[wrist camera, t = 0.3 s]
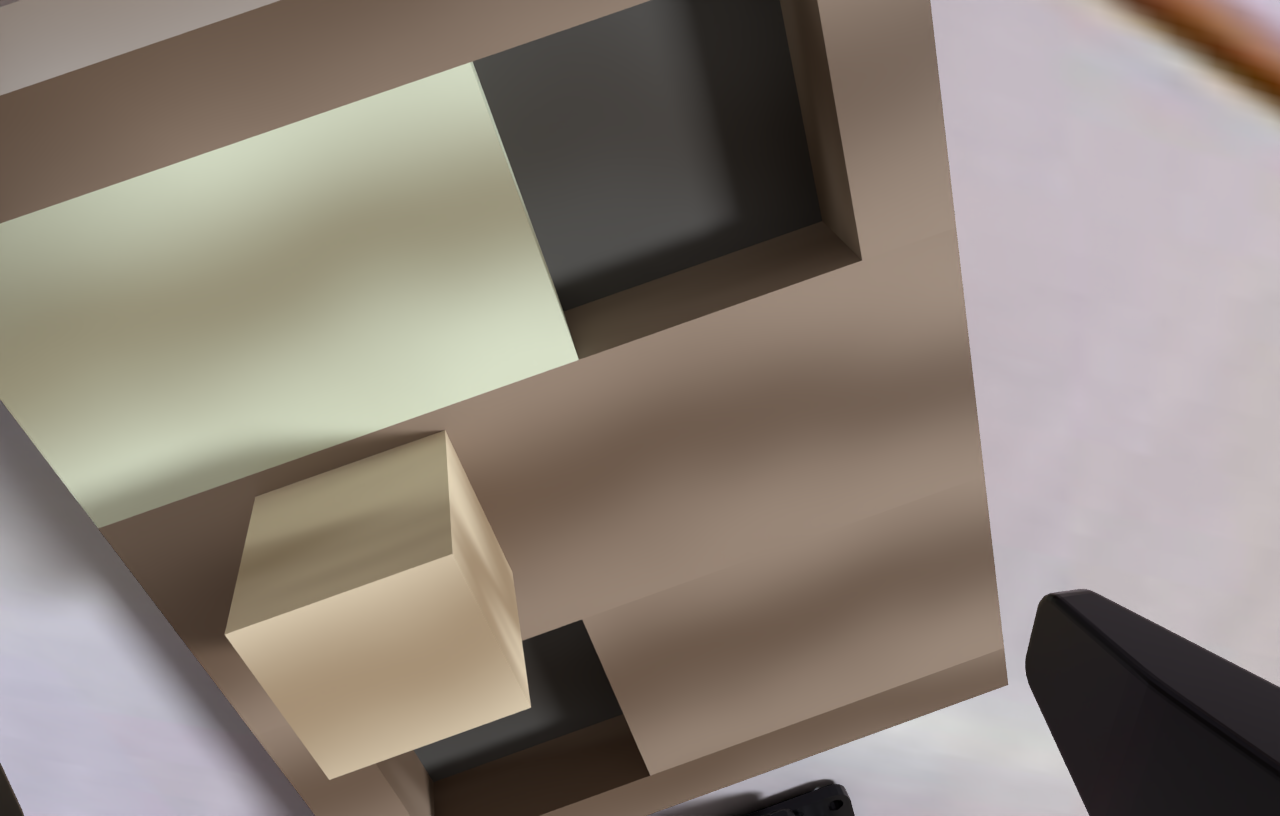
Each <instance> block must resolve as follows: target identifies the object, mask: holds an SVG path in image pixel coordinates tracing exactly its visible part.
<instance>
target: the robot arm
mask: <svg viewBox="0 0 1280 816" xmlns="http://www.w3.org/2000/svg"><path fill="white" fill-rule="evenodd" d="M1025 669H1026V676H1027V679H1028V683H1029V685H1030V688H1031V690H1032V692H1033V695H1034V697H1035V699H1036V701H1037V703H1038V705H1039V708H1040V710H1041V712H1042V714H1043V716H1044V718H1045V721H1046V723H1047V725H1048V727H1049V729H1050V731H1051V734H1052V736H1053V738H1054V740H1055V742H1056V744H1057V747H1058V749H1059V751H1060V753H1061V755H1062V757H1063V760H1064V762H1065V764H1066V766H1067V768H1068V770H1069V773H1070V775H1071V777H1072V779H1073V781H1074V783H1075V786H1076V788H1077V790H1078V792H1079V794H1080V796H1081V799H1082V801H1083V803H1084V805H1085V807H1086V809H1087V811H1088V813H1089V815H1090V816H1280V687H1278V686H1276V685H1274V684H1272V683H1270V682H1269V681H1267V680H1265V679H1263V678H1261V677H1259V676H1257V675H1255V674H1253V673H1251V672H1249V671H1247V670H1245V669H1243V668H1241V667H1239V666H1237V665H1235V664H1234V663H1232V662H1230V661H1228V660H1226V659H1224V658H1222V657H1220V656H1218V655H1216V654H1214V653H1212V652H1210V651H1208V650H1206V649H1204V648H1202V647H1200V646H1199V645H1197V644H1195V643H1193V642H1191V641H1189V640H1187V639H1185V638H1183V637H1181V636H1179V635H1177V634H1175V633H1173V632H1171V631H1169V630H1167V629H1165V628H1164V627H1162V626H1160V625H1158V624H1156V623H1154V622H1152V621H1150V620H1148V619H1146V618H1144V617H1142V616H1140V615H1138V614H1136V613H1134V612H1132V611H1130V610H1128V609H1127V608H1125V607H1123V606H1121V605H1119V604H1117V603H1115V602H1113V601H1111V600H1109V599H1107V598H1105V597H1103V596H1101V595H1099V594H1097V593H1095V592H1093V591H1091V590H1087V589H1077V590H1070V591H1063V592H1056V593H1050V594H1048V595H1045V596H1044V597H1043V598H1042V600H1041V601H1040V602H1039V605H1038V608H1037V612H1036V617H1035V621H1034V625H1033V629H1032V633H1031V638H1030V642H1029V646H1028V650H1027V654H1026V661H1025ZM0 816H24V814H23V811H22V809H21V807H20V804H19V802H18V800H17V798H16V796H15V794H14V792H13V789H12V787H11V785H10V783H9V781H8V779H7V776H6V774H5V772H4V770H3V768H2V766H1V763H0ZM746 816H855V815H854V812H853V808H852V804H851V800H850V798H849V796H848V794H847V791H846V789H845V788H844V786H842V785H840V784H833V785H828V786H826V787H823V788H820V789H817V790H815V791H812V792H809V793H806V794H804V795H801V796H798V797H795V798H793V799H790V800H787V801H784V802H782V803H779V804H776V805H773V806H771V807H768V808H765V809H762V810H760V811H757V812H754V813H751V814H749V815H746Z"/></svg>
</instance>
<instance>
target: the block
mask: <svg viewBox="0 0 1280 816" xmlns="http://www.w3.org/2000/svg"><path fill="white" fill-rule="evenodd" d="M225 636H226V637H227V639H228V640H229V641H230V643H231V644H232V646H233V647H234V648H235V650H236V651H237V653H238V654H239V655H240V657H241V658H242V660H243V661H244V662H245V664H246V665H247V666H248V668H249V669H250V671H251V672H252V673H253V675H254V676H255V678H256V679H257V680H258V682H259V683H260V684H261V686H262V687H263V689H264V690H265V691H266V693H267V694H268V696H269V697H270V698H271V700H272V701H273V703H274V704H275V705H276V707H277V708H278V709H279V711H280V712H281V714H282V715H283V716H284V718H285V719H286V721H287V722H288V723H289V725H290V726H291V727H292V729H293V730H294V732H295V733H296V734H297V736H298V737H299V739H300V740H301V741H302V743H303V744H304V746H305V747H306V748H307V750H308V751H309V752H310V754H311V755H312V757H313V758H314V759H315V761H316V762H317V764H318V765H319V766H320V768H321V769H322V771H323V772H324V773H325V775H326V776H327V777H328V779H329V780H331V779H333V778H336V777H339V776H342V775H344V774H347V773H350V772H353V771H356V770H358V769H361V768H364V767H367V766H370V765H372V764H375V763H378V762H381V761H384V760H386V759H389V758H392V757H395V756H397V755H400V754H403V753H406V752H409V751H411V750H414V749H417V748H420V747H423V746H425V745H428V744H431V743H434V742H437V741H439V740H442V739H445V738H448V737H451V736H453V735H456V734H459V733H462V732H464V731H467V730H470V729H473V728H476V727H478V726H481V725H484V724H487V723H490V722H492V721H495V720H498V719H501V718H504V717H506V716H509V715H512V714H515V713H517V712H520V711H523V710H526V709H529V708H531V703H530V696H529V689H528V681H527V674H526V667H525V660H524V652H523V645H522V638H521V631H520V623H519V616H518V609H517V602H516V594H515V587H514V580H513V573H512V570H511V568H510V566H509V564H508V562H507V560H506V558H505V556H504V553H503V551H502V549H501V547H500V545H499V543H498V541H497V539H496V537H495V534H494V532H493V530H492V528H491V526H490V524H489V522H488V520H487V518H486V515H485V513H484V511H483V509H482V507H481V505H480V503H479V501H478V499H477V496H476V494H475V492H474V490H473V488H472V486H471V484H470V482H469V480H468V477H467V475H466V473H465V471H464V469H463V467H462V465H461V463H460V460H459V458H458V456H457V454H456V452H455V450H454V448H453V446H452V444H451V441H450V439H449V437H448V435H447V433H446V431H445V430H444V431H441V432H438V433H435V434H433V435H430V436H427V437H424V438H421V439H418V440H415V441H413V442H410V443H407V444H404V445H401V446H398V447H396V448H393V449H390V450H387V451H384V452H381V453H378V454H376V455H373V456H370V457H367V458H364V459H361V460H359V461H356V462H353V463H350V464H347V465H344V466H341V467H339V468H336V469H333V470H330V471H327V472H324V473H322V474H319V475H316V476H313V477H310V478H307V479H304V480H302V481H299V482H296V483H293V484H290V485H287V486H285V487H282V488H279V489H276V490H273V491H270V492H267V493H265V494H262V495H259V496H256V497H255V501H254V505H253V510H252V514H251V519H250V523H249V527H248V532H247V536H246V541H245V545H244V550H243V554H242V559H241V563H240V568H239V572H238V577H237V581H236V586H235V590H234V595H233V599H232V604H231V608H230V612H229V617H228V621H227V626H226V630H225Z"/></svg>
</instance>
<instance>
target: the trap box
mask: <svg viewBox="0 0 1280 816" xmlns="http://www.w3.org/2000/svg"><path fill="white" fill-rule="evenodd" d="M0 400H1V401H2V402H3V404H4V405H5V406H6V408H7V409H8V410H9V412H10V413H11V414H12V416H13V417H14V418H15V420H16V421H17V422H18V424H19V425H20V426H21V428H22V429H23V430H24V432H25V433H26V434H27V435H28V437H29V438H30V439H31V441H32V442H33V443H34V445H35V446H36V447H37V449H38V450H39V451H40V453H41V454H42V455H43V457H44V458H45V459H46V461H47V462H48V463H49V465H50V466H51V467H52V468H53V470H54V471H55V472H56V474H57V475H58V476H59V478H60V479H61V480H62V482H63V483H64V484H65V486H66V487H67V488H68V490H69V491H70V492H71V494H72V495H73V496H74V498H75V499H76V500H77V502H78V503H79V504H80V505H81V507H82V508H83V509H84V511H85V512H86V513H87V515H88V516H89V517H90V519H91V520H92V521H93V523H94V524H95V525H96V527H97V528H98V529H99V531H100V532H101V533H102V535H103V536H104V537H105V539H106V540H107V541H108V542H109V544H110V545H111V546H112V548H113V549H114V550H115V552H116V553H117V554H118V556H119V557H120V558H121V560H122V561H123V562H124V564H125V565H126V566H127V568H128V569H129V570H130V572H131V573H132V574H133V576H134V577H135V578H136V579H137V581H138V582H139V583H140V585H141V586H142V587H143V589H144V590H145V591H146V593H147V594H148V595H149V597H150V598H151V599H152V601H153V602H154V603H155V605H156V606H157V607H158V609H159V610H160V611H161V613H162V614H163V615H164V616H165V618H166V619H167V620H168V622H169V623H170V624H171V626H172V627H173V628H174V630H175V631H176V632H177V634H178V635H179V636H180V638H181V639H182V640H183V642H184V643H185V644H186V646H187V647H188V648H189V650H190V651H191V652H192V653H193V655H194V656H195V657H196V659H197V660H198V661H199V663H200V664H201V665H202V667H203V668H204V669H205V671H206V672H207V673H208V675H209V676H210V677H211V679H212V680H213V681H214V683H215V684H216V685H217V687H218V688H219V689H220V690H221V692H222V693H223V694H224V696H225V697H226V698H227V700H228V701H229V702H230V704H231V705H232V706H233V708H234V709H235V710H236V712H237V713H238V714H239V716H240V717H241V718H242V720H243V721H244V722H245V723H246V725H247V726H248V727H249V729H250V730H251V731H252V733H253V734H254V735H255V737H256V738H257V739H258V741H259V742H260V743H261V745H262V746H263V747H264V749H265V750H266V751H267V753H268V754H269V755H270V757H271V758H272V759H273V760H274V762H275V763H276V764H277V766H278V767H279V768H280V770H281V771H282V772H283V774H284V775H285V776H286V778H287V779H288V780H289V782H290V783H291V784H292V786H293V787H294V788H295V790H296V791H297V792H298V794H299V795H300V796H301V797H302V799H303V800H304V801H305V803H306V804H307V805H308V807H309V808H310V809H311V811H312V812H313V813H314V815H315V816H647V815H650V814H652V813H655V812H658V811H661V810H663V809H666V808H669V807H672V806H675V805H677V804H680V803H683V802H686V801H688V800H691V799H694V798H697V797H699V796H702V795H705V794H708V793H710V792H713V791H716V790H719V789H721V788H724V787H727V786H730V785H733V784H735V783H738V782H741V781H744V780H746V779H749V778H752V777H755V776H757V775H760V774H763V773H766V772H768V771H771V770H774V769H777V768H780V767H782V766H785V765H788V764H791V763H793V762H796V761H799V760H802V759H804V758H807V757H810V756H813V755H815V754H818V753H821V752H824V751H827V750H829V749H832V748H835V747H838V746H840V745H843V744H846V743H849V742H851V741H854V740H857V739H860V738H862V737H865V736H868V735H871V734H874V733H876V732H879V731H882V730H885V729H887V728H890V727H893V726H896V725H898V724H901V723H904V722H907V721H909V720H912V719H915V718H918V717H920V716H923V715H926V714H929V713H932V712H934V711H937V710H940V709H943V708H945V707H948V706H951V705H954V704H956V703H959V702H962V701H965V700H967V699H970V698H973V697H976V696H979V695H981V694H984V693H987V692H990V691H992V690H995V689H998V688H1001V687H1003V686H1006V685H1008V679H1007V671H1006V662H1005V653H1004V644H1003V635H1002V627H1001V618H1000V609H999V600H998V592H997V583H996V574H995V565H994V556H993V548H992V539H991V530H990V521H989V513H988V504H987V495H986V486H985V477H984V469H983V460H982V451H981V442H980V434H979V425H978V416H977V407H976V398H975V390H974V381H973V372H972V363H971V355H970V346H969V337H968V328H967V320H966V311H965V302H964V293H963V284H962V276H961V267H960V258H959V249H958V241H957V232H956V223H955V214H954V205H953V197H952V188H951V179H950V170H949V162H948V153H947V144H946V135H945V126H944V118H943V109H942V100H941V91H940V83H939V74H938V65H937V56H936V48H935V39H934V30H933V21H932V12H931V4H930V0H0ZM444 430H445V431H446V433H447V435H448V437H449V439H450V441H451V444H452V446H453V448H454V450H455V452H456V454H457V456H458V458H459V460H460V463H461V465H462V467H463V469H464V471H465V473H466V475H467V477H468V480H469V482H470V484H471V486H472V488H473V490H474V492H475V494H476V496H477V499H478V501H479V503H480V505H481V507H482V509H483V511H484V513H485V515H486V518H487V520H488V522H489V524H490V526H491V528H492V530H493V532H494V534H495V537H496V539H497V541H498V543H499V545H500V547H501V549H502V551H503V553H504V556H505V558H506V560H507V562H508V564H509V566H510V568H511V570H512V573H513V580H514V587H515V594H516V602H517V609H518V616H519V623H520V631H521V638H522V645H523V652H524V660H525V667H526V674H527V681H528V689H529V696H530V703H531V708H529V709H526V710H523V711H520V712H517V713H515V714H512V715H509V716H506V717H504V718H501V719H498V720H495V721H492V722H490V723H487V724H484V725H481V726H478V727H476V728H473V729H470V730H467V731H464V732H462V733H459V734H456V735H453V736H451V737H448V738H445V739H442V740H439V741H437V742H434V743H431V744H428V745H425V746H423V747H420V748H417V749H414V750H411V751H409V752H406V753H403V754H400V755H397V756H395V757H392V758H389V759H386V760H384V761H381V762H378V763H375V764H372V765H370V766H367V767H364V768H361V769H358V770H356V771H353V772H350V773H347V774H344V775H342V776H339V777H336V778H333V779H331V780H329V779H328V777H327V776H326V775H325V773H324V772H323V771H322V769H321V768H320V766H319V765H318V764H317V762H316V761H315V759H314V758H313V757H312V755H311V754H310V752H309V751H308V750H307V748H306V747H305V746H304V744H303V743H302V741H301V740H300V739H299V737H298V736H297V734H296V733H295V732H294V730H293V729H292V727H291V726H290V725H289V723H288V722H287V721H286V719H285V718H284V716H283V715H282V714H281V712H280V711H279V709H278V708H277V707H276V705H275V704H274V703H273V701H272V700H271V698H270V697H269V696H268V694H267V693H266V691H265V690H264V689H263V687H262V686H261V684H260V683H259V682H258V680H257V679H256V678H255V676H254V675H253V673H252V672H251V671H250V669H249V668H248V666H247V665H246V664H245V662H244V661H243V660H242V658H241V657H240V655H239V654H238V653H237V651H236V650H235V648H234V647H233V646H232V644H231V643H230V641H229V640H228V639H227V637H226V636H225V630H226V626H227V621H228V617H229V612H230V608H231V604H232V599H233V595H234V590H235V586H236V581H237V577H238V572H239V568H240V563H241V559H242V554H243V550H244V545H245V541H246V536H247V532H248V527H249V523H250V519H251V514H252V510H253V505H254V501H255V497H256V496H259V495H262V494H265V493H267V492H270V491H273V490H276V489H279V488H282V487H285V486H287V485H290V484H293V483H296V482H299V481H302V480H304V479H307V478H310V477H313V476H316V475H319V474H322V473H324V472H327V471H330V470H333V469H336V468H339V467H341V466H344V465H347V464H350V463H353V462H356V461H359V460H361V459H364V458H367V457H370V456H373V455H376V454H378V453H381V452H384V451H387V450H390V449H393V448H396V447H398V446H401V445H404V444H407V443H410V442H413V441H415V440H418V439H421V438H424V437H427V436H430V435H433V434H435V433H438V432H441V431H444Z"/></svg>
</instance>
